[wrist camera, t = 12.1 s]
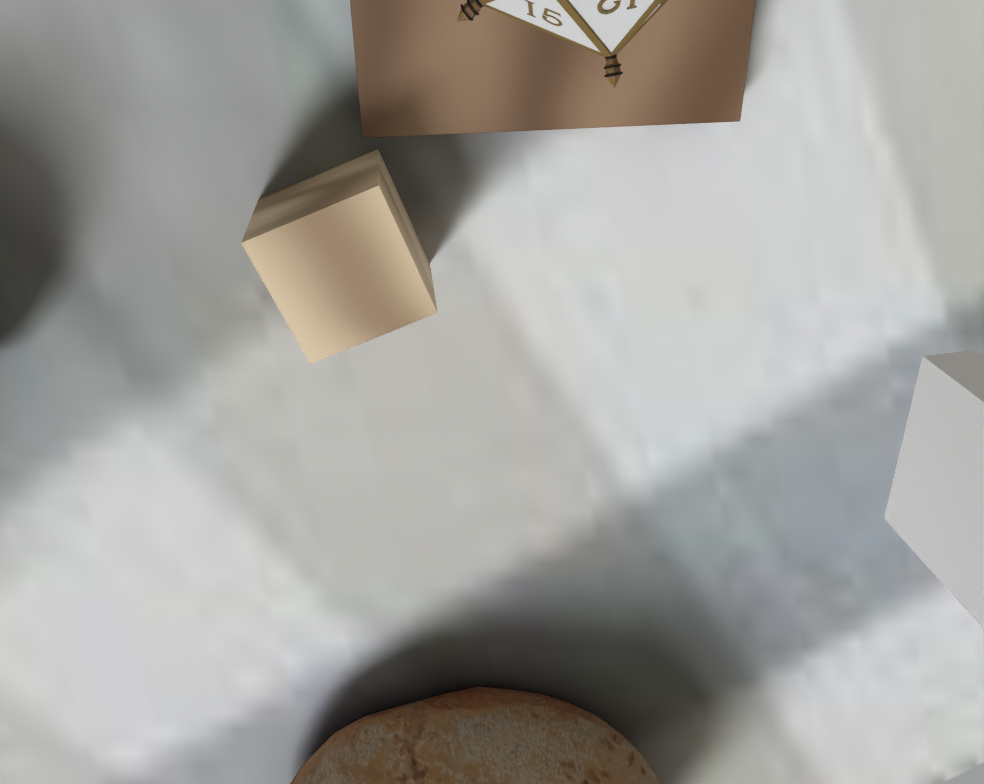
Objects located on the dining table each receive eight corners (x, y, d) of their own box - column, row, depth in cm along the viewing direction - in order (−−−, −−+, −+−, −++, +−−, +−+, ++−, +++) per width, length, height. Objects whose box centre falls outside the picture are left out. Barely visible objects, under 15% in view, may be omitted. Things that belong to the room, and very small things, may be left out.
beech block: (317, 308, 35) (310, 364, 31) (258, 198, 33) (241, 242, 28) (429, 262, 35) (437, 312, 30) (378, 148, 32) (378, 185, 28)
